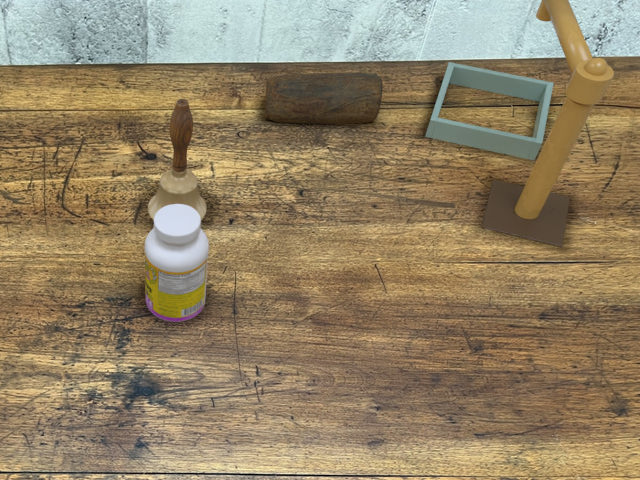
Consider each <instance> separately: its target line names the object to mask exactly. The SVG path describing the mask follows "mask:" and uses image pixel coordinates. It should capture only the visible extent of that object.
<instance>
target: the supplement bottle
mask: <svg viewBox="0 0 640 480" xmlns="http://www.w3.org/2000/svg"><path fill="white" fill-rule="evenodd" d="M209 251H210V242H209V239H208V236H207V234H206V233H205V231H204V230H203V229H202V220H201V218H200V215H199V213H198V212H197V211H196V210H195V209H194V208H192V207H190V206H188V205H184V204H171V205H167V206H165V207H163V208H161V209H160V210H159V211H158V212H157V213H156V214H155V217H154V220H153V228H152V229H151V230H150V231H149V233H148V234H147V236H146V238H145V241H144V287H145V288H144V291H145V292H144V293H145V294H144V295H145V304H146V306H147V309H148V310H149V311H150V312H151V313H152V315H154V316H155V317H156V318H158V319H161V320H164V321H167V322H174V323H177V322H178V323H179V322H185V321H189V320H190V319H193V318H195V317H196V316H197V315H199V314H200V313H201V312H202V311H203V309H204V307H205V304H206V297H207V296H206V295H207V294H206V293H207V282H208V281H207V279H208V266H209V265H208V264H209Z"/></svg>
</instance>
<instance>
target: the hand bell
mask: <svg viewBox="0 0 640 480" xmlns="http://www.w3.org/2000/svg"><path fill="white" fill-rule="evenodd" d="M193 132H194V118H193V113H192V110H191V108H190V104H189V100H188V99H186V98H179V99H177V100H176V103H175V106H174V108H173V110H172V113H171V115H170V120H169V137H170V138H169V139H170V142H171V145H172V149H173V154H172V164H171V168H170V169H167V170H165V172H163V173H162V175H160V178H159V183H158V188H157V192H156V194H155V195H153V196H152V197H151V199H150V200H149V201H148V204H147V212H148V215H149V216H150V218H151V219H152V220H153V221H154V217H155V214H156V213H157V212H158V211H159V210H160V209H161V208H163V207H165V206H167V205H171V204H184V205H188V206H190V207H192V208H194V209H195V210H196V211H197V212H198V213H199V215H200V218H201V221H202V220H203V219H204V217H205V215H206V214H207V204H206V201H205V199H204V198H203V197H202V196H201V194H200V192H199V191H200V190H199V184H198V182H199V181H198V177H197V176H196V174H195V173H194V172H193V171H191V170H189V169H188V149H189V145H190V143H191V140H192V137H193Z"/></svg>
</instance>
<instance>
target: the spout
mask: <svg viewBox="0 0 640 480" xmlns="http://www.w3.org/2000/svg"><path fill="white" fill-rule="evenodd" d="M535 17H536V19H537V20H538V21H541V22H551V24H552V27H553V29H554V32H555V34H556V37H557V40H558V42H559V44H560V47H561V50H562V52H563V55H564V57H565V60H566V62H567V65H568V68H569V70H570V73H571V76H570V79H569V81H568V82H567V85H566V87H565V91H564V93H565V95H566V97H568V98H569V99H571V100H572V101H574V102H577V103H580V104H585V105H592V104H594V105H596V104H599V103H600V102H601V101H602V100H603V97H604V96H605V94H606V92H607V90H608V88H609V86H610V84H611V83H612V80H613V78H614V75H615V71H614V69H613V68H612V66H610V65H608V62H607V60H606V59H604V58H603V57H593V54H592V52H591V50H590V48H589V45H588V43H587V41H586V38H585V36H584V34H583V31H582V29H581V26H580V24H579V22H578V20H577V17H576V15H575V13H574V10H573V8H572V5H571V3H570V0H541V1H540V4H539V6H538V9H537V11H536V13H535Z"/></svg>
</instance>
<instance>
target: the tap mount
mask: <svg viewBox="0 0 640 480" xmlns="http://www.w3.org/2000/svg"><path fill="white" fill-rule="evenodd" d="M594 106H595V104H592V105H585V104H580V103H577V102H574V101H572V100H571V99H569V98H568V97H567V96H566V97H565V99H564V100H563V103H562V106H561V107H560V110H559V112H558V114H557V116H556V118H555V121H554V123H553V124H552V127H551V129H550V131H549V133H548V136H547V137H546V139H545V142H544V144H543V146H542V147H541V150H540V152H539V155H538V157H537V159H536V160H535V163H534V166H533V167H532V170H531V172H530V173H529V176H528V178H527V180H526V183H525V185H524V186H523V185H519V184H514V183H510V182H505V181H501V180H496V179H492V180H491V185H490V190H489V193H488V194H489V195H488V199H487V202H486V206H485V209H484V210H485V211H484V214H483V219H482V223H481V229H484V230H489V231H491V232H497V233H500V234H505V235H508V236H513V237H516V238H521V239H525V240H529V241H533V242H538V243H542V244H546V245H550V246H553V247H558V248H563V246H564V240H565V233H566V226H567V220H568V213H569V207H570V206H569V205H570V201H571V197H570V196H567V195H562V194H558V193H553V192H552V190H553V188H554V186H555V184H556V182H557V180H558V178H559V177H560V174H561V173H562V170H563V168H564V166H565V164H566V162H567V161H568V159H569V156H570V154H571V152H572V150H573V148H574V146H575V144H576V142H577V140H578V139H579V136H580V135H581V132H582V130H583V128H584V126H585V124H586V122H587V120H588V118H589V117H590V115H591V112H592V110H593V108H594Z"/></svg>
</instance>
